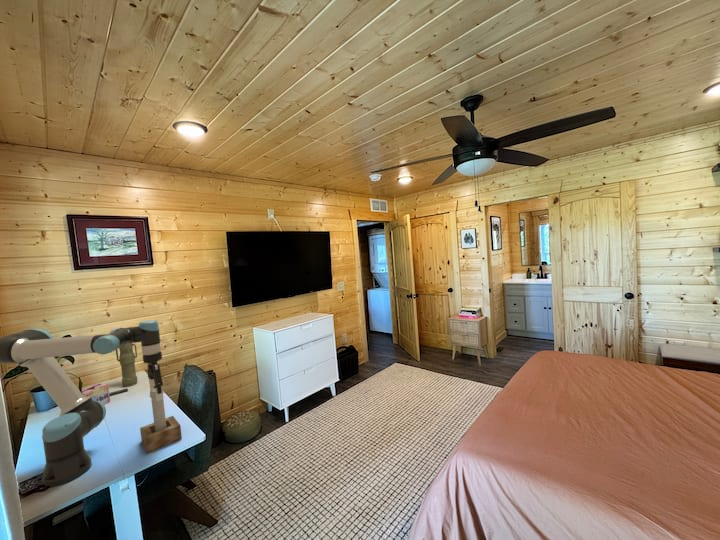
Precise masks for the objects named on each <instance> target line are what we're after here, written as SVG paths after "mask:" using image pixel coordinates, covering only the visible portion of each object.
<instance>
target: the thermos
mask: <svg viewBox="0 0 720 540" xmlns="http://www.w3.org/2000/svg"><path fill="white" fill-rule="evenodd" d="M133 347H134V350H133ZM118 350H119V352H118ZM137 350H138V349H137V345H136V344H135V343H129V344H126V345H124V346H122V347H120V348H118V349H116V350H115V356H116V361H117V362H118V363H119V364H120V367H121V375H122V378H121V385H122V388H130V387H134V386H135V385H136V386H137V384H138V375H137V372H136V365H135V362H136V358H138V352H137Z"/></svg>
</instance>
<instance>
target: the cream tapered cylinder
mask: <svg viewBox="0 0 720 540" xmlns="http://www.w3.org/2000/svg"><path fill="white" fill-rule="evenodd" d="M149 379H150V378H149V377H148V380H149ZM150 380H151V379H150ZM152 382H153V381H152ZM153 383H154V382H153ZM154 385H155V384H154ZM162 389H163V387H162ZM163 390H164V389H163ZM163 394H164V391H163ZM149 398H150V399H151V408H152V414H153V416H152V417H153V423H154V426H155V432H157V431H159V430H162V429H164V428H167V427H166V418H167V417H166V409H165V403H164V402H165V401H164V398H163V399H162V400H159V401H156V392H155V389H153V390H151V391H150V390H149Z"/></svg>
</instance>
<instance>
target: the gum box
mask: <svg viewBox="0 0 720 540" xmlns="http://www.w3.org/2000/svg"><path fill="white" fill-rule="evenodd" d="M80 392H81V393H82V394H83V396H85V397H91V399H92V400H93V401H100V402H101V403H103V404H104V406H105V405H107V404H109V403H111V396H109V393H110V390H109V384H108V383H106V384H105V383H104V384H102V383H98V384H95V385H93V386H91V387H89V388H86V389H84V390H82V391H80Z"/></svg>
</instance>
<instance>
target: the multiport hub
mask: <svg viewBox="0 0 720 540" xmlns="http://www.w3.org/2000/svg"><path fill="white" fill-rule="evenodd" d="M128 388H129V387H126V388H124V389H120V390H115V391H112V392H109V396H110V397H113V396H116V395H120V394H124V393H127V392H129V389H128Z"/></svg>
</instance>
